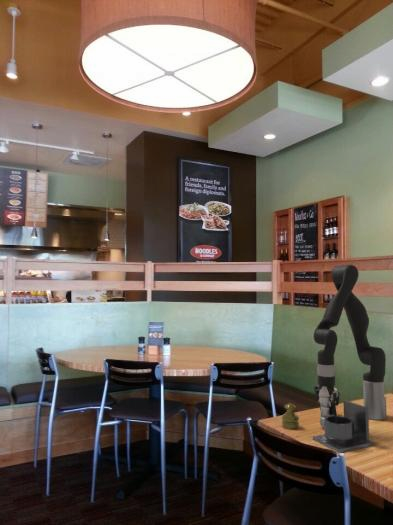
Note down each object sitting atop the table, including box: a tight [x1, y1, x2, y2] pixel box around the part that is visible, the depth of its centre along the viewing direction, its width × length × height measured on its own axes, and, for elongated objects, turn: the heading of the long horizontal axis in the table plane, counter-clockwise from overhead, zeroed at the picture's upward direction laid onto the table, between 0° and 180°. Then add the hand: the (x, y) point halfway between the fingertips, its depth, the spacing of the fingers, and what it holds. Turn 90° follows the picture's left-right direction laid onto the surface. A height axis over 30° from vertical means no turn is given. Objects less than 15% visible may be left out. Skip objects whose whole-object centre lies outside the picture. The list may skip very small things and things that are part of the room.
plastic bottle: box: [318, 386, 334, 428], centre depth 183 cm, size 6×7×20 cm
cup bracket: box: [312, 400, 376, 453], centre depth 166 cm, size 18×15×14 cm
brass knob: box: [281, 403, 300, 430], centre depth 185 cm, size 7×7×10 cm
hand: (327, 412), depth 183 cm, fingers closed on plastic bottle, 5 cm apart
